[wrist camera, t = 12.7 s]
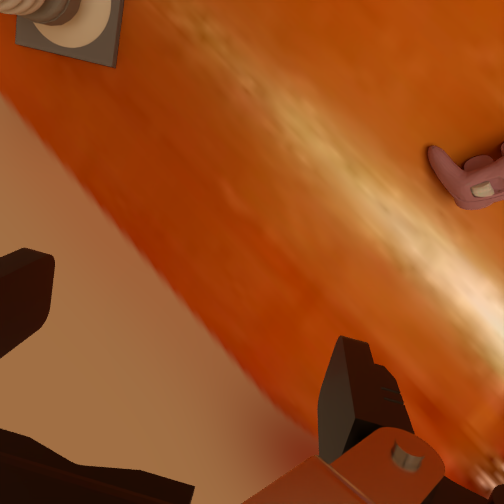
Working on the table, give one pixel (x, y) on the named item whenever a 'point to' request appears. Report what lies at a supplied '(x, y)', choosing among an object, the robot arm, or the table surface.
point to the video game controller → (470, 178)
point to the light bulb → (42, 10)
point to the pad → (79, 33)
